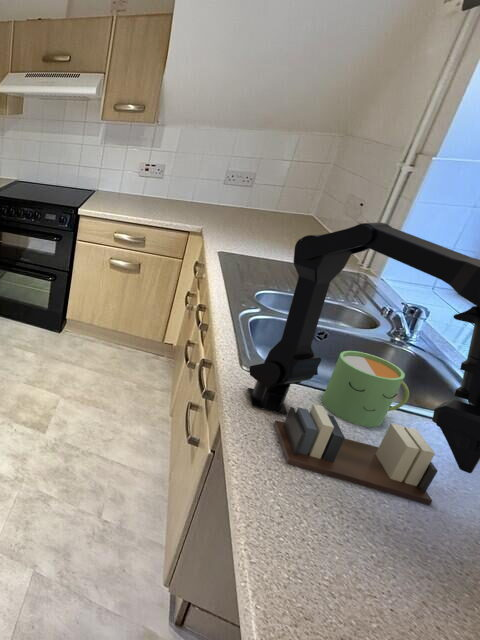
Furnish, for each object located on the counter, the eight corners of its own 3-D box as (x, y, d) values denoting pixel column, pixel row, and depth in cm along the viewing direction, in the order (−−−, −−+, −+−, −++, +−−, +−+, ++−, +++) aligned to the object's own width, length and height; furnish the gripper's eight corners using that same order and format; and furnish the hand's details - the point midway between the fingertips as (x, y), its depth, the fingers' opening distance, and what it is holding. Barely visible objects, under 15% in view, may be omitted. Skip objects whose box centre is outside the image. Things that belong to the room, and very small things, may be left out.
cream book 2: (375, 454, 78) (390, 422, 75) (386, 457, 77) (402, 425, 75) (390, 478, 73) (407, 446, 70) (401, 482, 72) (419, 449, 70)
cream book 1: (300, 434, 82) (312, 403, 80) (310, 436, 82) (323, 406, 79) (309, 456, 77) (323, 424, 74) (320, 458, 77) (334, 427, 74)
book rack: (273, 424, 86) (282, 400, 84) (398, 457, 79) (411, 432, 77) (287, 463, 77) (297, 437, 75) (429, 505, 69) (445, 478, 67)
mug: (329, 417, 88) (348, 371, 84) (316, 389, 97) (334, 346, 93) (407, 439, 83) (432, 391, 79) (386, 407, 92) (408, 362, 88)
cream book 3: (388, 457, 77) (405, 426, 75) (400, 460, 77) (416, 429, 74) (404, 483, 72) (422, 450, 69) (416, 486, 71) (435, 453, 69)
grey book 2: (313, 437, 82) (323, 413, 79) (323, 440, 81) (333, 415, 79) (323, 459, 76) (334, 434, 74) (333, 462, 76) (345, 437, 74)
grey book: (288, 430, 83) (298, 406, 81) (298, 433, 82) (308, 409, 80) (297, 452, 78) (307, 427, 76) (307, 455, 77) (317, 430, 75)
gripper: (588, 405, 46) (554, 526, 49) (620, 368, 54) (589, 474, 57) (441, 366, 56) (420, 468, 58) (487, 340, 64) (467, 431, 67)
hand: (476, 460), depth 60 cm, fingers open, 9 cm apart
